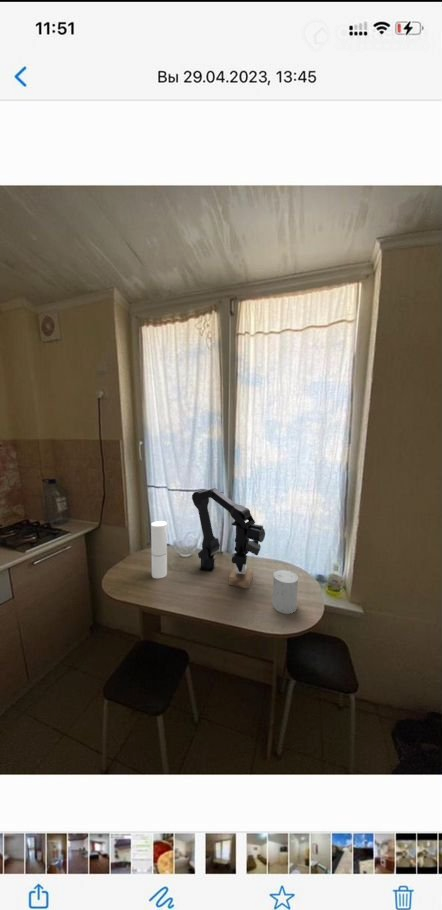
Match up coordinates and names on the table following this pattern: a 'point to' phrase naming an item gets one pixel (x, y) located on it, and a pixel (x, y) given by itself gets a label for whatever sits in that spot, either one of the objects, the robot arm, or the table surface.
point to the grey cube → (242, 569)
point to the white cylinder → (285, 591)
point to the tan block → (241, 578)
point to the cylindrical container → (159, 549)
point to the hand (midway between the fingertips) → (241, 568)
